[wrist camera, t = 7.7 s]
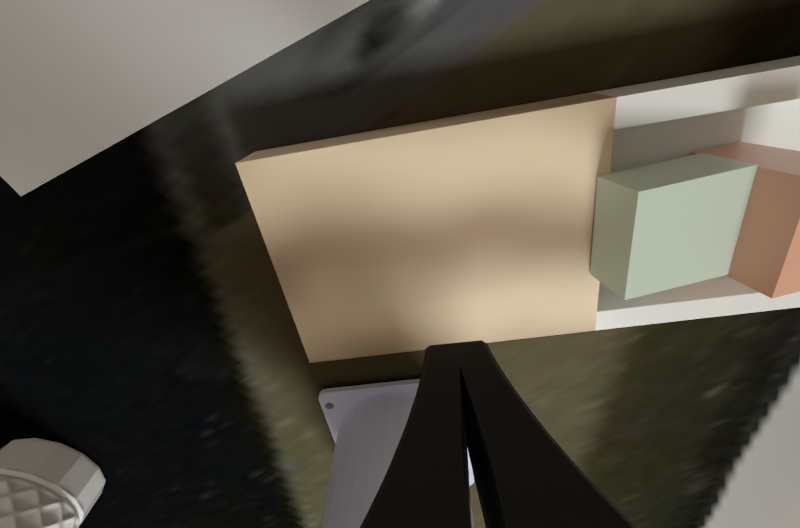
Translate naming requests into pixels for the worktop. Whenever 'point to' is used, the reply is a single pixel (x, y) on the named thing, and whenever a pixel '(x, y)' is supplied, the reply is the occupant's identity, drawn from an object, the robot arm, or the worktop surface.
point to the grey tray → (679, 136)
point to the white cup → (46, 484)
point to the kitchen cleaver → (124, 68)
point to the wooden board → (438, 228)
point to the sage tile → (668, 223)
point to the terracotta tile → (768, 220)
